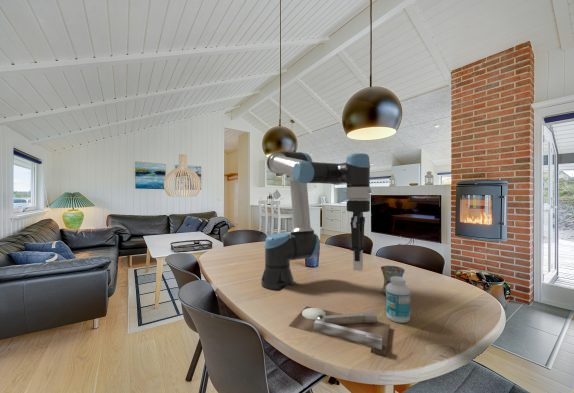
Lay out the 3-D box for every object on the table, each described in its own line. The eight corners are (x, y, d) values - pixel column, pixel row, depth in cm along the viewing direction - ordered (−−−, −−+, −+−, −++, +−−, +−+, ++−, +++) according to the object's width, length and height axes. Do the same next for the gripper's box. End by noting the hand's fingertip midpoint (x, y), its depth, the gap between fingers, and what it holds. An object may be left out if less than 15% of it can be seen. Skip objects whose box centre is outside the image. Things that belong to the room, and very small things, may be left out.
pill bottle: (382, 313, 86) (381, 275, 86) (402, 312, 86) (402, 274, 86) (393, 324, 78) (393, 282, 78) (415, 323, 79) (414, 281, 79)
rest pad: (298, 316, 81) (298, 315, 81) (307, 307, 88) (307, 306, 88) (321, 322, 77) (321, 321, 77) (328, 311, 84) (328, 310, 84)
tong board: (288, 329, 75) (288, 318, 75) (306, 309, 88) (306, 299, 88) (385, 356, 62) (385, 342, 62) (389, 328, 76) (389, 316, 76)
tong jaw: (317, 327, 74) (317, 318, 74) (315, 322, 76) (315, 314, 76) (377, 322, 76) (377, 313, 76) (373, 318, 79) (373, 309, 79)
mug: (406, 299, 97) (406, 273, 97) (381, 296, 100) (381, 270, 100) (402, 288, 108) (402, 264, 108) (380, 286, 111) (380, 263, 111)
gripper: (366, 200, 74) (366, 277, 74) (372, 199, 87) (372, 265, 87) (341, 200, 78) (341, 274, 78) (351, 199, 90) (351, 263, 90)
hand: (358, 269), depth 82 cm, fingers closed
